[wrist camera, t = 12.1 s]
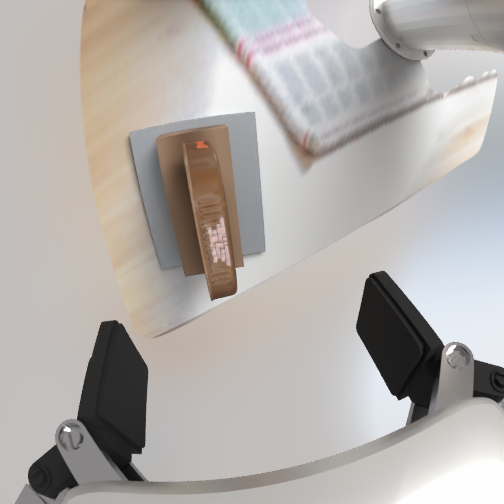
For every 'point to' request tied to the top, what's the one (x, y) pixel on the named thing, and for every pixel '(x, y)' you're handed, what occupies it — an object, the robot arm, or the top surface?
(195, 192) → the tin
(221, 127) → the base block
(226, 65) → the top surface
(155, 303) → the top surface
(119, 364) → the robot arm
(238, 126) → the plate
